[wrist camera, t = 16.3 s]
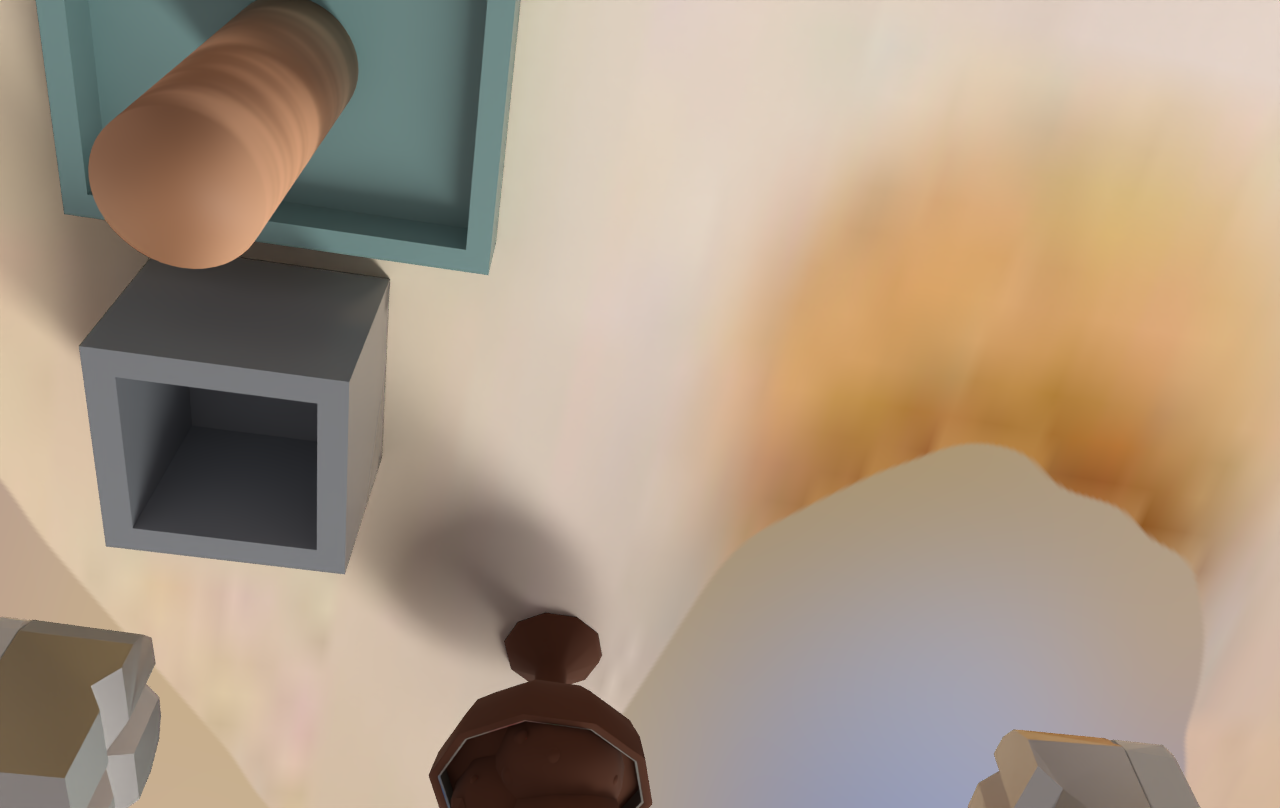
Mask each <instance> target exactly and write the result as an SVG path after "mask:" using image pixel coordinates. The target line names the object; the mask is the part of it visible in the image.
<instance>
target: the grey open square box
mask: <svg viewBox="0 0 1280 808" xmlns="http://www.w3.org/2000/svg"><path fill="white" fill-rule="evenodd" d="M389 289H390V279H386V278H379V277H372V276H365V275H358V274H350V273H343V272H336V271H329V270H322V269H315V268H308V267H301V266H294V265H287V264H280V263H273V262H266V261H259V260H252V259H245V258H238V257H237V258H236V259H234V260H232V261H230V262H228V263H226V264H223V265H220V266H216V267H211V268H204V269H190V268H181V267H176V266H171V265H168V264H165V263H161V262H159V261H157V260H154V259H152V258H150V259H149V260H148V261H147V263H146V264H145V265H144V266H143V268H142V269H141V270H140V271H139V272H138V274H137V275H136V276H135V277H134V279H133V280H132V281H131V282H130V284H129V285H128V286H127V287H126V289H125V290H124V291H123V292H122V293H121V295H120V296H119V297H118V298H117V300H116V301H115V302H114V303H113V305H112V306H111V307H110V308H109V310H108V311H107V312H106V313H105V314H104V316H103V317H102V318H101V319H100V321H99V322H98V323H97V324H96V326H95V327H94V328H93V329H92V331H91V332H90V333H89V334H88V335H87V337H86V338H85V339H84V340H83V342H82V343H81V344H80V345H79V350H80V357H81V365H82V372H83V380H84V387H85V394H86V402H87V409H88V417H89V424H90V431H91V439H92V446H93V454H94V461H95V468H96V476H97V483H98V491H99V498H100V505H101V513H102V520H103V528H104V535H105V542H106V546H107V547H116V548H125V549H133V550H142V551H150V552H159V553H167V554H176V555H184V556H193V557H201V558H210V559H219V560H227V561H236V562H244V563H253V564H261V565H270V566H278V567H287V568H296V569H304V570H313V571H321V572H330V573H338V574H345V572H346V569H347V566H348V563H349V560H350V557H351V553H352V550H353V547H354V544H355V541H356V538H357V534H358V531H359V528H360V525H361V522H362V519H363V515H364V512H365V509H366V506H367V503H368V500H369V496H370V493H371V490H372V487H373V484H374V481H375V477H376V474H377V471H378V468H379V465H380V462H381V458H382V446H383V423H384V401H385V378H386V356H387V333H388V311H389Z"/></svg>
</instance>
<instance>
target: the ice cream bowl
mask: <svg viewBox="0 0 1280 808" xmlns="http://www.w3.org/2000/svg"><path fill="white" fill-rule="evenodd" d="M504 642H505V646H506V650H507V654H508V658H509V662H510V666H511V669H512V670H513V671H515V672H516V673H517V674H519V675H520V676H522V677H523V678H524V679H526V680H527V681H529V682H526V683H523V684H520V685H517V686H514V687H511V688H508V689H504V690H501V691H498V692H495V693H493V694H490V695H488V696H485V697H483V698H480V699H478V700H477V701H476V702H475V703H474V705H473V706H472V707H471V708H470V709H469V711H468V712H467V713H466V715H465V716H464V717H463V719H462V720H461V721H460V723H459V724H458V726H457V727H456V728H455V730H454V731H453V733H452V734H451V735H450V737H449V738H448V740H447V741H446V742H445V744H444V745H443V747H442V748H441V749H440V751H439V752H438V755H437V757H436V759H435V762H434V764H433V766H432V769H431V771H430V773H429V778H430V781H431V784H432V787H433V790H434V793H435V796H436V799H437V802H438V805H439V808H649V807H650V806H651V805H652V799H651V792H650V786H649V780H648V774H647V768H646V762H645V757H644V753H643V748H642V744H641V740H640V736H639V735H638V733H637V731H636V730H635V728H634V727H633V725H632V723H631V722H630V720H629V719H627V718H626V717H625V716H623V715H622V714H621V713H619V712H618V711H616V710H615V709H614V708H612V707H611V706H610V705H608V704H607V703H606V702H604V701H603V700H601V699H600V698H599V697H597V696H596V695H595V694H593V693H592V692H591V691H589V690H587V689H585V688H583V687H582V686H579V685H572V684H573V683H576V682H579V681H582V680H585V679H586V678H587V677H588V675H589V674H590V673H591V671H592V670H593V669H594V668H595V666H596V665H597V664H598V663H599V661H600V658H601V656H602V653H601V647H600V642H599V636H598V633H596V632H595V631H594V630H593V629H591V628H590V627H589V626H587V625H586V624H585V623H583V622H582V621H581V620H579V619H578V618H577V617H571V616H565V615H558V614H551V613H543V614H540V615H537V616H534V617H531V618H529V619H526V620H523V621H520V622H518V623H517V624H516V625H515V627H514V628H513V630H512V631H511V633H510V634H509V635H508V637H507V638H506V640H505V641H504Z"/></svg>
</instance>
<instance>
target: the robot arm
mask: <svg viewBox="0 0 1280 808" xmlns="http://www.w3.org/2000/svg"><path fill="white" fill-rule="evenodd" d="M154 665H155V656H154V650H153V644H152V638H151V637H148V636H145V635H141V634H134V633H127V632H119V631H112V630H104V629H97V628H90V627H82V626H75V625H68V624H60V623H53V622H45V621H38V620H26V619H18V618H10V617H2V616H0V808H128V807H129V806H131V805H132V804H134V803H135V802H136V801H138V800H139V799H140V796H141V794H142V791H143V789H144V786H145V784H146V782H147V779H148V777H149V774H150V772H151V769H152V765H153V761H154V757H155V752H156V749H157V745H158V741H159V732H160V719H161V712H160V700H159V696H158V695H157V694H156V693H155V692H154V691H153V690H152V689H151V688H150V687H149V686H148V685H147V684H146V683H147V680H148V678H149V676H150V674H151V672H152V669H153V668H154ZM994 756H995V759H996V762H997V765H998V768H999V771H998V772H997V773H995V774H993V775H991V776H990V777H988V778H986V779H985V780H983V781H981V782H980V783H978V785H977V787H976V790H975V792H974V794H973V796H972V798H971V800H970V802H969V805H968V808H1200V806H1199V804H1198V802H1197V800H1196V798H1195V796H1194V794H1193V792H1192V790H1191V788H1190V786H1189V784H1188V782H1187V780H1186V778H1185V776H1184V774H1183V772H1182V770H1181V769H1180V766H1179V764H1178V762H1177V760H1176V759H1175V757H1174V755H1173V754H1172V753H1171V752H1170V751H1169V750H1167V748H1165V747H1164V746H1163V745H1157V744H1148V743H1139V742H1129V741H1119V740H1108V739H1105V738H1095V737H1085V736H1075V735H1065V734H1055V733H1045V732H1035V731H1024V730H1012V731H1011V732H1009V733H1008V734H1007V735H1005V736H1004V737H1003V738H1002V740H1001V742H1000V743H999V745H998V747H997V749H996V751H995V753H994Z"/></svg>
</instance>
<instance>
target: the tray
mask: <svg viewBox="0 0 1280 808" xmlns="http://www.w3.org/2000/svg"><path fill="white" fill-rule="evenodd" d="M254 1H256V0H36V6H37V13H38V21H39V28H40V36H41V43H42V51H43V58H44V66H45V73H46V81H47V88H48V96H49V103H50V111H51V118H52V126H53V133H54V141H55V148H56V156H57V163H58V171H59V178H60V186H61V193H62V200H63V208H64V214H68V215H75V216H81V217H88V218H95V219H102V220H105V219H104V217H103V215H102V214H101V212H100V210H99V209H98V206H97V204H96V202H95V200H94V197H93V194H92V191H91V187H90V182H89V173H88V165H89V157H90V153H91V149H92V146H93V144H94V142H95V140H96V138H97V136H98V135H99V134H100V132H101V131H102V130H103V128H104V127H105V126H106V125H107V124H108V123H109V122H111V121H112V120H113V119H114V118H115V117H116V116H118V115H119V114H120V113H121V112H122V111H124V110H125V109H126V108H127V107H128V106H130V105H131V104H132V103H133V102H134V101H135V100H137V99H138V98H139V97H140V96H141V95H143V94H144V93H145V92H146V91H147V90H148V89H150V88H151V87H152V86H153V85H154V84H156V83H157V82H158V81H159V80H160V79H161V78H163V77H164V76H165V75H166V74H167V73H169V72H170V71H171V70H172V69H173V68H174V67H176V66H177V65H178V64H179V63H180V62H182V61H183V60H184V59H185V58H186V57H187V56H189V55H190V54H191V53H192V52H193V51H195V50H196V49H197V48H198V47H199V46H201V45H202V44H203V43H204V42H205V41H206V40H208V39H209V38H210V37H211V36H212V35H214V34H215V33H216V32H217V31H218V30H219V29H221V28H222V27H223V26H224V25H225V24H227V23H228V22H229V21H230V20H231V19H232V18H234V17H235V16H236V15H237V14H238V13H240V12H241V11H242V10H243V9H244V8H245V7H247V6H248V5H250V4H251V3H252V2H254ZM310 1H312V2H314V3H316V4H318V5H320V6H321V7H323V8H324V9H326V10H327V11H328V12H330V13H331V14H332V15H333V16H334V17H335V18H336V19H337V20H338V21H339V22H340V23H341V25H342V26H343V27H344V28H345V30H346V31H347V33H348V35H349V36H350V38H351V40H352V43H353V45H354V48H355V51H356V54H357V60H358V81H357V85H356V89H355V91H354V94H353V96H352V97H351V99H350V101H349V102H348V104H347V105H346V107H345V108H344V110H343V111H342V113H341V114H340V116H339V117H338V119H337V120H336V122H335V123H334V125H333V126H332V128H331V129H330V131H329V132H328V134H327V135H326V136H325V138H324V139H323V141H322V142H321V144H320V145H319V147H318V148H317V150H316V151H315V153H314V154H313V156H312V157H311V159H310V160H309V162H308V163H307V165H306V166H305V168H304V169H303V170H302V172H301V173H300V175H299V176H298V178H297V179H296V181H295V182H294V184H293V185H292V187H291V188H290V190H289V191H288V193H287V194H286V196H285V197H284V199H283V200H282V202H281V203H280V205H279V206H278V207H277V209H276V210H275V212H274V213H273V215H272V216H271V218H270V219H269V221H268V222H267V224H266V225H265V227H264V228H263V230H262V231H261V233H260V234H259V236H258V237H257V239H256V240H255V242H262V243H269V244H276V245H283V246H290V247H297V248H304V249H311V250H318V251H325V252H331V253H338V254H345V255H352V256H359V257H366V258H373V259H380V260H387V261H394V262H401V263H408V264H415V265H422V266H429V267H436V268H443V269H450V270H456V271H463V272H470V273H477V274H484V275H488V274H489V270H490V266H491V262H492V257H493V253H494V249H495V245H496V236H497V227H498V217H499V207H500V197H501V187H502V178H503V168H504V158H505V148H506V138H507V129H508V119H509V109H510V99H511V89H512V80H513V70H514V60H515V50H516V40H517V31H518V21H519V11H520V1H521V0H310Z"/></svg>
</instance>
